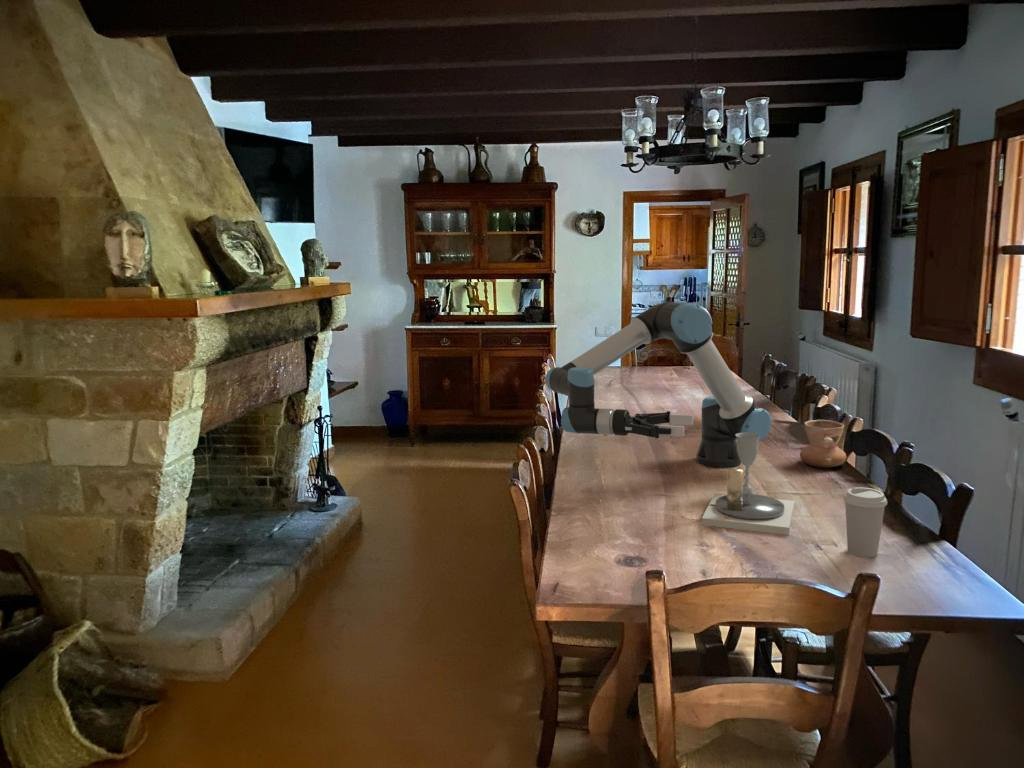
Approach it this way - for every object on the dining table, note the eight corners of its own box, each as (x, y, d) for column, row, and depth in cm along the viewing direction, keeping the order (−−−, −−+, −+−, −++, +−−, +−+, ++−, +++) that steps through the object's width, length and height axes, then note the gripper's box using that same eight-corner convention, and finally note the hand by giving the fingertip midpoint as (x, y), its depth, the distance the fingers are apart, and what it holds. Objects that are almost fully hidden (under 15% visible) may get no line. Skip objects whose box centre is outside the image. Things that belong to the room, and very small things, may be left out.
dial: (701, 506, 209) (702, 464, 207) (745, 493, 219) (746, 453, 217) (753, 524, 194) (754, 479, 192) (798, 510, 204) (799, 466, 202)
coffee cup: (871, 543, 185) (875, 485, 183) (892, 559, 176) (896, 498, 173) (833, 545, 185) (836, 487, 182) (852, 561, 176) (855, 499, 173)
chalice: (742, 498, 222) (743, 438, 219) (729, 491, 228) (730, 433, 225) (763, 495, 224) (765, 436, 221) (750, 488, 230) (752, 431, 227)
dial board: (714, 499, 221) (714, 492, 221) (794, 507, 213) (794, 499, 212) (701, 525, 202) (701, 517, 201) (788, 535, 193) (789, 526, 192)
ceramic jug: (850, 472, 243) (852, 429, 241) (803, 471, 246) (804, 429, 244) (840, 457, 260) (841, 417, 258) (795, 456, 264) (797, 417, 261)
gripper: (625, 424, 230) (696, 427, 221) (602, 445, 207) (680, 450, 199) (625, 400, 228) (695, 403, 220) (601, 419, 206) (679, 422, 197)
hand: (688, 425), depth 209 cm, fingers open, 13 cm apart
